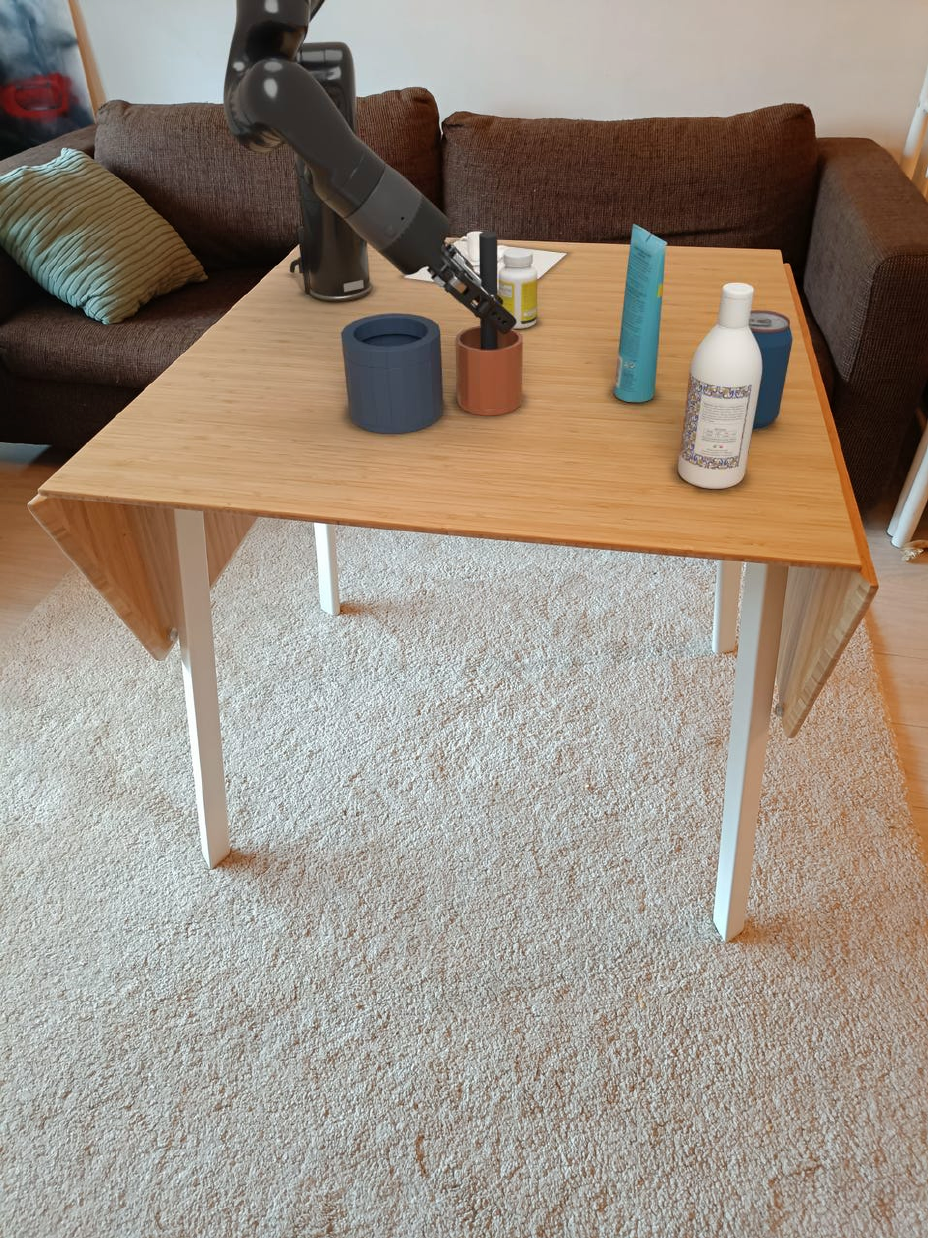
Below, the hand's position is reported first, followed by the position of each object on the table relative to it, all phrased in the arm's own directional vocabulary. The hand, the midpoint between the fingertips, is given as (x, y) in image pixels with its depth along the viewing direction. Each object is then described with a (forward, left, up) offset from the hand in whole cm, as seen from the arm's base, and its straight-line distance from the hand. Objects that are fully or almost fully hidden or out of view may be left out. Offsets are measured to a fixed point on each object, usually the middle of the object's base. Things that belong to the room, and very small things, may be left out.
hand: (503, 317), depth 114 cm
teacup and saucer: (-24, +43, -10) cm, 50 cm away
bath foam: (+28, -7, -10) cm, 31 cm away
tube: (+14, +8, -10) cm, 19 cm away
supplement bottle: (-9, +23, -10) cm, 27 cm away
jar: (-10, -9, -10) cm, 17 cm away
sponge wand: (-1, -1, -9) cm, 10 cm away
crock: (-1, -1, -10) cm, 10 cm away
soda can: (+28, +7, -10) cm, 31 cm away
